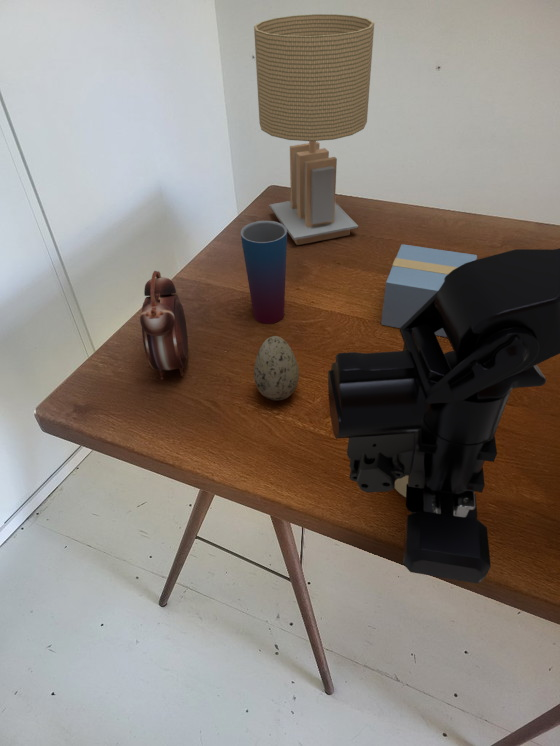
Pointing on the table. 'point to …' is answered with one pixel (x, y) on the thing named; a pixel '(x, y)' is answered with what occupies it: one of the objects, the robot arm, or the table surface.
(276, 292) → the cup
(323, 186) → the desk lamp
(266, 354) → the decorative egg
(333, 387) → the robot arm
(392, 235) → the table surface
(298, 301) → the table surface
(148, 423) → the table surface
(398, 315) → the carton
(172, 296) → the alarm clock
